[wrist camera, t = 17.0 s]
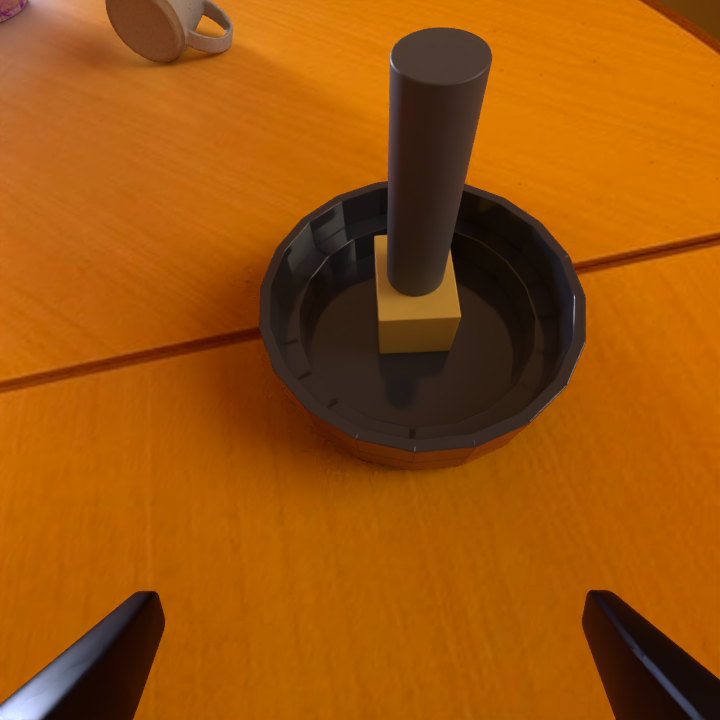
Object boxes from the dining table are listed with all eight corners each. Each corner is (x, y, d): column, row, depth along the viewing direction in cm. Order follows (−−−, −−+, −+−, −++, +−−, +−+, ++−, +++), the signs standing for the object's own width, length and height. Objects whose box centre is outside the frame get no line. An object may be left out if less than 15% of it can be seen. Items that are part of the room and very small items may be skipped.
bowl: (606, 344, 25) (656, 298, 20) (407, 540, 21) (414, 537, 16) (414, 200, 31) (420, 141, 27) (230, 328, 27) (200, 283, 22)
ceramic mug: (127, 69, 41) (78, -28, 34) (149, 26, 45) (108, -70, 38) (228, 68, 41) (198, -31, 34) (242, 25, 44) (218, -73, 37)
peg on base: (450, 351, 25) (532, 108, 11) (378, 354, 25) (375, 118, 11) (439, 273, 27) (494, 0, 14) (374, 276, 27) (367, 10, 14)
